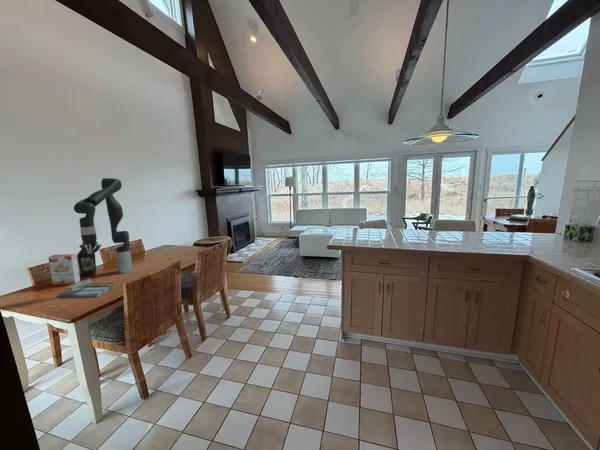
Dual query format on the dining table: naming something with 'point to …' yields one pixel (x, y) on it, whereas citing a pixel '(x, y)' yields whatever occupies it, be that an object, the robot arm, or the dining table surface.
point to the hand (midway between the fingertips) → (92, 258)
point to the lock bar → (81, 284)
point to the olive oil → (86, 264)
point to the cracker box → (64, 269)
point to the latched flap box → (89, 290)
